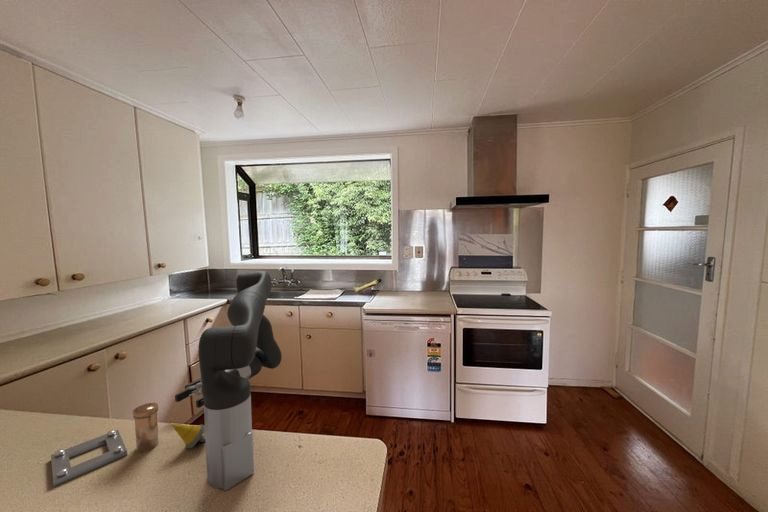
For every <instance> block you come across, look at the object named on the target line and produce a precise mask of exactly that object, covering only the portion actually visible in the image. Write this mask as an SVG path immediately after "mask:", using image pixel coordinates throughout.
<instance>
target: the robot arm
mask: <svg viewBox="0 0 768 512" xmlns="http://www.w3.org/2000/svg"><path fill="white" fill-rule="evenodd" d="M235 280H236V281H235V284H236V291H237V293H236V294H235V295H234V297H233V298H232V299H231V301H230V304H229V306H228V308H227V311H226V316H227V319H228V321H229V322H230V324H231V325H230V326H229V325H227V326H218V327H209V328H206V329H204V331H203V332H202V333H201V334H200V337H199V340H198V352H197V353H198V364H199V370H200V378H198V379H195V380H194V381H191V382H190V383H187V384H185V385H184V390H181V391H180V392H178V393H177V394H175V396H174V401H175V402H177V403H179V402H181V401H183V400H184V399H185V400H186V399H187V398H188V397H191V396H194V395H196V396H201V395H202V397H200V398H198V399H196V401H195V404H196V405H195V407H196V408H201V407H203V412H204V413H203V414H204V415H203V416H204V426H205V430H204V438H205V442H204V443H205V462H206V463H205V464H206V478H207V479H206V480H207V484H208V485H209V486H210V487H212V488H214V489H222V490H223V491H228V490H229V489H231V488H233V487H234V486H236V485H237V484H239V483H241V482H242V481H243V480H245V479H247V478H249V477H250V476H252V475H253V474H254V472H255V471H254V466H255V465H254V445H253V444H254V443H253V427H252V425H253V424H252V422H253V421H252V393H251V392H252V391H251V390H252V389H251V384H250V379H251V378H253V377H255V376H256V375H258V374H259V373H260V372H261V371H262V368H263V367H264V368H267V369H272V370H274V369H276V368H277V367H279V366H280V364H281V362H282V351H281V349H280V347H279V346H278V343H277V341H276V340H275V337H274V331H273V326H272V324H271V321H270V320H269V319H268V317H267V316H266V315H264V313H265V309H266V303H267V300H268V298H269V297H270V295H271V291H272V286H273V285H272V283H273V282H272V277H271V275H270V273H268V272H267V271H264V270H256V271H251V272H243V273H239V274H238V275H237V277H236V279H235ZM200 389H201V390H200Z"/></svg>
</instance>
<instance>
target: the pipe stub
mask: <svg viewBox="0 0 768 512" xmlns="http://www.w3.org/2000/svg"><path fill="white" fill-rule="evenodd" d="M158 411H159V404H158V403H157V402H148V403H147V402H146V403H144V404H141V405H139V406H137V407H135V408H134V409H133V410H132V418H133V419H134V427H135V428H134V431H135V432H134V433H135V445H136V449H135V450H136V452H137V453H144V452H148V451H151V450H153V449H154V448H156V447H157V446H158V445H159V425H158Z"/></svg>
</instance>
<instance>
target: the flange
mask: <svg viewBox="0 0 768 512" xmlns="http://www.w3.org/2000/svg"><path fill="white" fill-rule="evenodd" d="M104 445H105V446H106V448H107V449H106V450H107V452H104V453H102V454H100V455H97V456H95V457H93V458H90V459H88V460H86V461H82V462H80V463H77V464H75V465H73V466H71V460H70V459H71V458H75V457H77V456H78V455H81V454H84V453H87V452H90V451H92V450H95V449H96V448H100V447H102V446H104ZM125 456H128V449H127V447H126V445H125V442H124V440H123V438H122V436H121V433H120V431H119V430H118V429H111V430H109V431H107V433H105V434H102V435H99V436H97V437H94V438H92V439H89V440H87V441H84V442H82V443H79V444H76V445H73V446H71V447H68V448H66V449H65V448H61V449H57V450H56V451H55V452H54V453H53V454H50V461H51V462H50V463H51V474H52V487H53V488H54V487H57V486H59V485H62V484H63V483H66V482H68V481H70V480H73V479H75V478H77V477H80V476H82V475H84V474H87V473H88V472H91V471H93V470H96V469H99V468H100V467H102V466H105V465H108V464H109V463H112V462H114V461H117V460H119V459H120V458H123V457H125Z"/></svg>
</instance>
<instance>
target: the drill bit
mask: <svg viewBox="0 0 768 512" xmlns="http://www.w3.org/2000/svg"><path fill="white" fill-rule="evenodd" d="M171 427H172V428H173V429H174V431H175V432H176V433H177V435H178V436H179V437H180V438H181V439H182V441H183V442H184V444H185V448H188V449H190V450H191V449H192V448H193V447H195V446H196V444H197V443H198V442H202V443H206V442H205V435H203V434H204V433H205V424H199V425H195V424H194V425H192V424H191V425H190V424H189V426H188V424H184V425H183V424H173V423H172V424H171Z"/></svg>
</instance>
